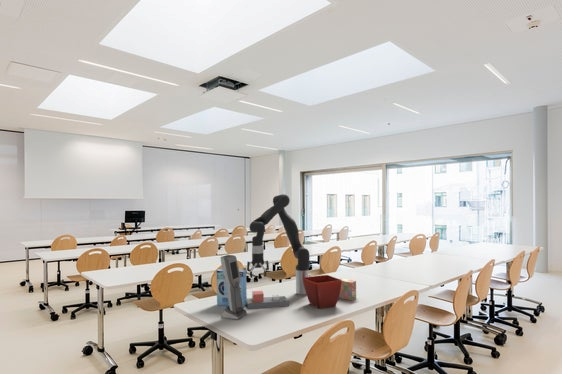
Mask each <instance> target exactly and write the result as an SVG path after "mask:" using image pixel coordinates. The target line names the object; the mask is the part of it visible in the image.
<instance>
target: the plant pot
mask: <svg viewBox="0 0 562 374" xmlns="http://www.w3.org/2000/svg"><path fill="white" fill-rule="evenodd" d="M303 282H304V287H305V291H306V297H307V299H308V302H309V305H312V306H313V307H315V308H317V309H324V308H330V307H336V306H337V303H338V301H339V298H338V297H339V294H340V289H341V282H342V280H340V278H337V277H334V276H332V275H329V274H324V275H313V276H308V277H304V278H303Z"/></svg>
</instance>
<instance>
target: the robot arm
mask: <svg viewBox="0 0 562 374" xmlns="http://www.w3.org/2000/svg"><path fill="white" fill-rule="evenodd" d="M290 202H291V200H290V197H289V195H288V194H285V193H284V194H283V193H282V194H278V195H275V196H273V198H272V204H273V205H272V206H271V207H269V208H268V209H266V210H265V211H264V212H263V213H262V214H261V215H260V216H259V217H257V218H255V219H254V220H253V221H252V222H250V224H249V230H250V232H251V233H256V235H254V236H252V239H251V243H252V244H251V261H248V260H247V261H246V262H247V263H246V266H247V267H246V272H249V276H250V278H251V279H252V278H253V271H254V270H255V269H258V268H259V269H263V277H264V278H266V276H267V271H269V270H270V265H269V260H264V253H265V252H264V240H263V239H264V236H265V232H266V231H265V230H266V226H267V225H268V224H269V223H270V222H271V221H272V220H273V218H274V217H275V216H277V214H278V216H279V218H280V221H281V224H282V225H283V228H284V231H285V233H286V235H287V238H288V240H289V242H290V243H289V244H290V245H291V250H292V252H293V255H294V256H293V257H294V258H295V259H297V265H296V266H295V291H296V292H295V294H297V295H299V296H301V295H302V296H304V295H305V296H307V294H306V291H305V287H304V282H303V278H304V277H309V267H310V259H311V258H310V256H311V255H310V251H309V250H308V249H307V248H305V247H303V246H302V243H301V241H300V231H299V228H298V225H297V222H296V221H295V219H294V218H293V217H291V215H290V214H288V212H287V211H286V208H287V207H288V206H289V205H290ZM264 264H265V266H266V267H265V266H264ZM250 265H252V266H251V268H250Z"/></svg>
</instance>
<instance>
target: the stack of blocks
mask: <svg viewBox="0 0 562 374" xmlns="http://www.w3.org/2000/svg"><path fill="white" fill-rule="evenodd" d="M339 279H340V280H342V282H341V289H340V294H339V297H338V299H344V300H349V301H353V300H356V299H357V280H352V279H349V278H348V279H347V278H339Z"/></svg>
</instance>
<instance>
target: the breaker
mask: <svg viewBox="0 0 562 374" xmlns="http://www.w3.org/2000/svg"><path fill="white" fill-rule="evenodd" d="M279 296H280V295H279V294H274V295H272V296H271V297H272V299H273V301H275V300H280V297H279Z"/></svg>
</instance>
